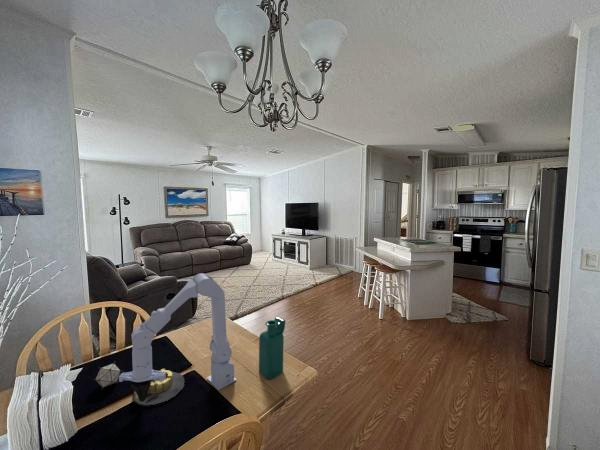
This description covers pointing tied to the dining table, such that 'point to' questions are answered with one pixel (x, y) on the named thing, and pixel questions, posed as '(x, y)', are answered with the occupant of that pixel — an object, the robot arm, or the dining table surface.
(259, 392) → the dining table surface
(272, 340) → the green flip-top bottle
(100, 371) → the game die
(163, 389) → the yellow toy key
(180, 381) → the flange
